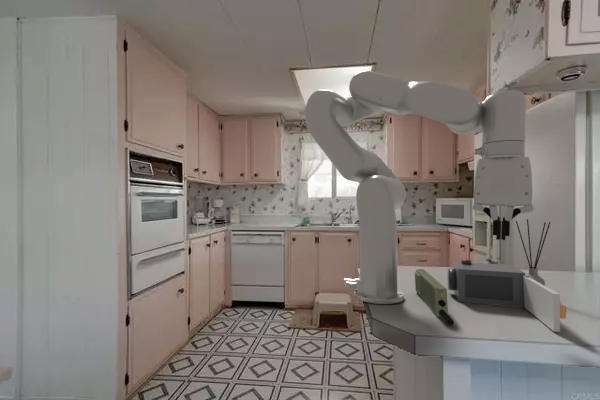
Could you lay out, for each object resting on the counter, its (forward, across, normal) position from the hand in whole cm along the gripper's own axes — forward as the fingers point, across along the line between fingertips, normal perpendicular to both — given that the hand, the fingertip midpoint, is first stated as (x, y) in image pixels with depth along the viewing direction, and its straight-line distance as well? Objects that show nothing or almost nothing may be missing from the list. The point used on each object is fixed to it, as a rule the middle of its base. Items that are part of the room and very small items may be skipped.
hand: (500, 239), depth 65 cm
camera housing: (+17, -3, +14) cm, 22 cm away
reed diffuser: (+17, +8, +23) cm, 30 cm away
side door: (+16, +7, +4) cm, 18 cm away
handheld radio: (+18, -13, 0) cm, 22 cm away
